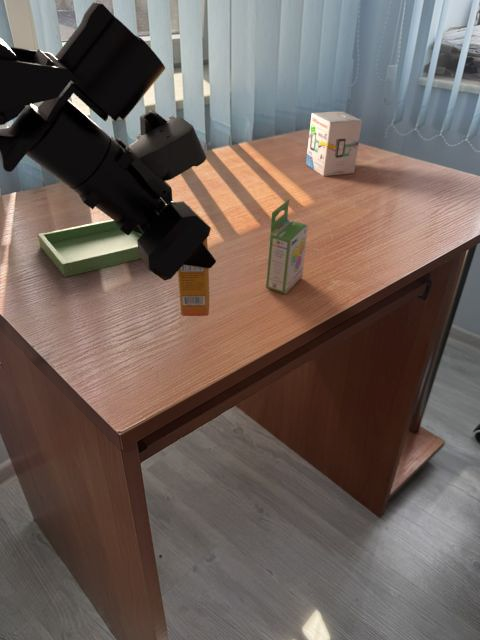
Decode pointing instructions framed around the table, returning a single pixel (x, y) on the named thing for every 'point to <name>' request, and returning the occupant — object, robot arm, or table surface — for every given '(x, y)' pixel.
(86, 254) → the green tray
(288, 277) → the ink box
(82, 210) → the table surface
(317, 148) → the ink box
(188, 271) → the supplement box
